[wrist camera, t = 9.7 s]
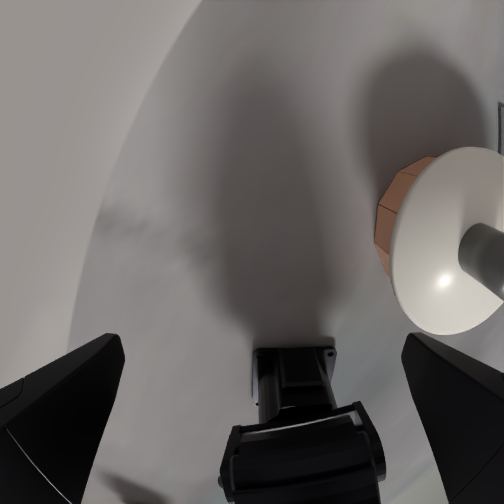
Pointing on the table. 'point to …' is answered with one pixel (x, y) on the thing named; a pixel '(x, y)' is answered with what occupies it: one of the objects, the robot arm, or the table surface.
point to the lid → (451, 242)
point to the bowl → (394, 206)
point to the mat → (501, 131)
